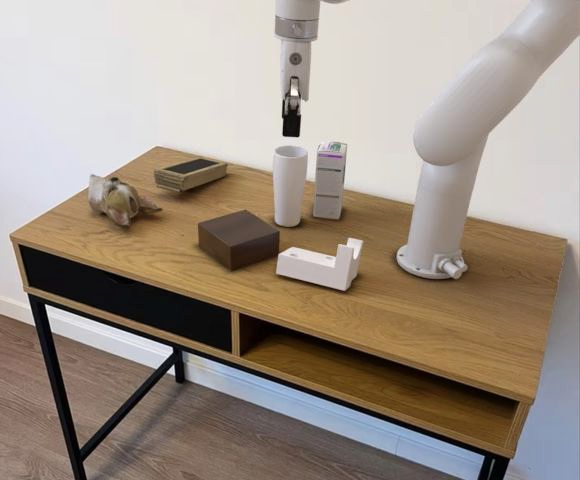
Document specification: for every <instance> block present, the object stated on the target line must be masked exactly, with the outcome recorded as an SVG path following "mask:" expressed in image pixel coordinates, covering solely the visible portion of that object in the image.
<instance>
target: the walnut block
mask: <svg viewBox="0 0 580 480" xmlns="http://www.w3.org/2000/svg"><path fill="white" fill-rule="evenodd" d="M280 235H281V231H280V230H279V229H277V228H276V227H274V226H272V225H271V224H269V223H268V222H266V221H264V220H263V219H261V218H260V217H258V216H257V215H256V214H254V213H252V212H251V211H249V209H248V210H247V209H246V208H245V209H243V210H239V211H235V212H232V213H227V214H226V215H225V214H224V215H221V216H218V217H215V218H210V219H207V220H204V221H200V222H198V223H197V237H198V238H197V239H198V247H199V248H200V249H201V250H203V251H204V252H205V253H207V254H208V255H209V256H211V257H212V258H213V259H214V260H215V261H217V262H218V263H219V264H221V265H222V266H223V267H225V268H226V269H227V270H229V271H230V272H232V271H235V270H239V269H242V268H244V267H247V266H250V265H253V264H256V263H259V262H262V261H265V260H268V259H271V258H273V257H276V256H277V257H278V255H279V254H280Z"/></svg>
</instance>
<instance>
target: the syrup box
mask: <svg viewBox="0 0 580 480" xmlns="http://www.w3.org/2000/svg"><path fill="white" fill-rule="evenodd" d="M347 153H348V143H344V142H338V141H323V140H321V141H320V143H319V145H318V147H317V150H316V161H315V174H314V190H313V191H314V193H313V209H312V216H313V217H315V218H320V219H328V220H339V219H340V217H341V214H342V209H343V202H344V201H343V200H344V190H345V178H346V165H347V155H348V154H347Z"/></svg>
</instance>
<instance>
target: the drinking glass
mask: <svg viewBox="0 0 580 480" xmlns="http://www.w3.org/2000/svg"><path fill="white" fill-rule="evenodd" d="M308 163H309V152H308V150H307V149H306V148H304V147H301V146H297V145H280V146H277V147H276V148H274V149H273V155H272V183H273V184H272V185H273V186H272V187H273V203H274V204H273V205H274V206H273V207H274V222H275V223H276V224H277V225H278V226H280V227H284V228H285V227H286V228H292V227H296V226H298V225H299V224H300V222H301V215H302V214H301V213H302V206H303V201H304V196H305V195H304V193H305V187H306V181H307V175H308Z"/></svg>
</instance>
